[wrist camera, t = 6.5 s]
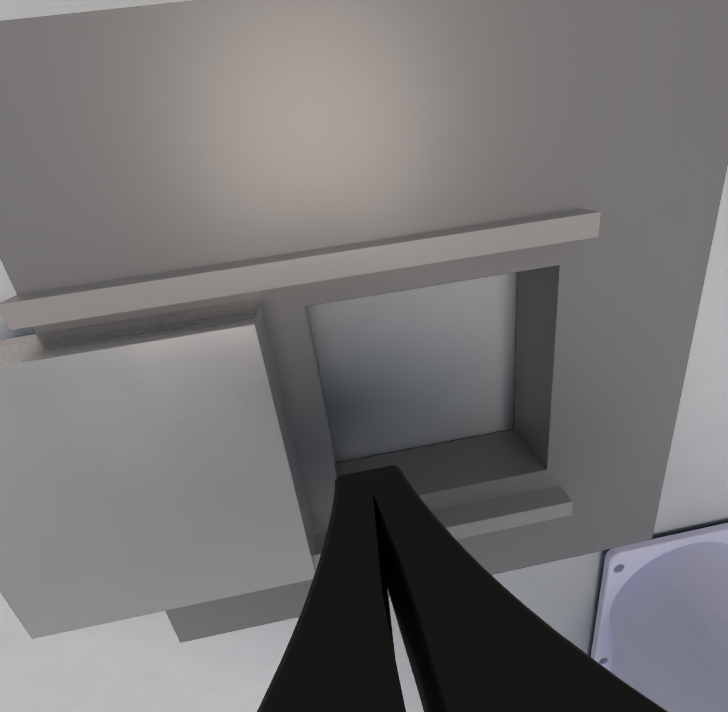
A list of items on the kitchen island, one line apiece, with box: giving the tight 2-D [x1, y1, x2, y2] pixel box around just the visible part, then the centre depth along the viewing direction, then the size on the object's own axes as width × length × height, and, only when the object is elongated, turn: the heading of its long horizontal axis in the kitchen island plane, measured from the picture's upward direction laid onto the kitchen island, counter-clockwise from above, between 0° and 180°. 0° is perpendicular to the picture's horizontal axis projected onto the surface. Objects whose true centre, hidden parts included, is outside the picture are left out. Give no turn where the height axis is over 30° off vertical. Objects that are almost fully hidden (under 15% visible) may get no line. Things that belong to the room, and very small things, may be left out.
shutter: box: [0, 298, 316, 639], centre depth 12 cm, size 8×8×2 cm
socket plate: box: [0, 0, 728, 643], centre depth 13 cm, size 18×18×3 cm
